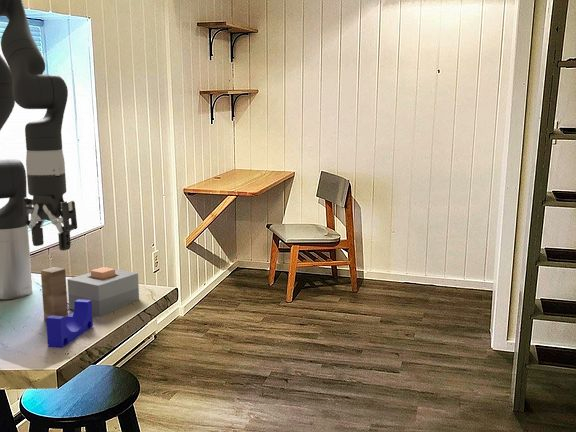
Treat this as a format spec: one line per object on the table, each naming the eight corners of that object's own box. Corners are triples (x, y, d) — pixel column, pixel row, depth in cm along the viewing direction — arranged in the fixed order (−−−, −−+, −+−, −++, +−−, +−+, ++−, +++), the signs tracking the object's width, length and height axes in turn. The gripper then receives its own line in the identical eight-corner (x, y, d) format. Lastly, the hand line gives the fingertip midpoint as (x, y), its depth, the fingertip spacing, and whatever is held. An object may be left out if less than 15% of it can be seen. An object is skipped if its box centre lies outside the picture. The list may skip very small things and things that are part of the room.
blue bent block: (73, 326, 135) (71, 298, 134) (92, 327, 134) (91, 300, 133) (41, 347, 124) (38, 317, 122) (62, 348, 123) (60, 318, 122)
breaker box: (69, 308, 146) (67, 279, 144) (109, 295, 156) (107, 267, 155) (100, 316, 141) (98, 285, 139) (139, 302, 151) (137, 273, 149)
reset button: (91, 284, 147) (90, 270, 146) (104, 280, 150) (103, 266, 149) (103, 286, 145) (102, 272, 144) (115, 282, 148) (115, 269, 147)
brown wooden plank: (44, 319, 139) (40, 270, 137) (57, 315, 142) (54, 266, 140) (54, 322, 137) (51, 272, 135) (68, 317, 140) (65, 268, 138)
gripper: (8, 171, 134) (14, 247, 137) (53, 175, 127) (59, 254, 129) (39, 168, 140) (44, 241, 143) (83, 171, 133) (88, 247, 136)
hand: (51, 247), depth 136 cm, fingers open, 8 cm apart
